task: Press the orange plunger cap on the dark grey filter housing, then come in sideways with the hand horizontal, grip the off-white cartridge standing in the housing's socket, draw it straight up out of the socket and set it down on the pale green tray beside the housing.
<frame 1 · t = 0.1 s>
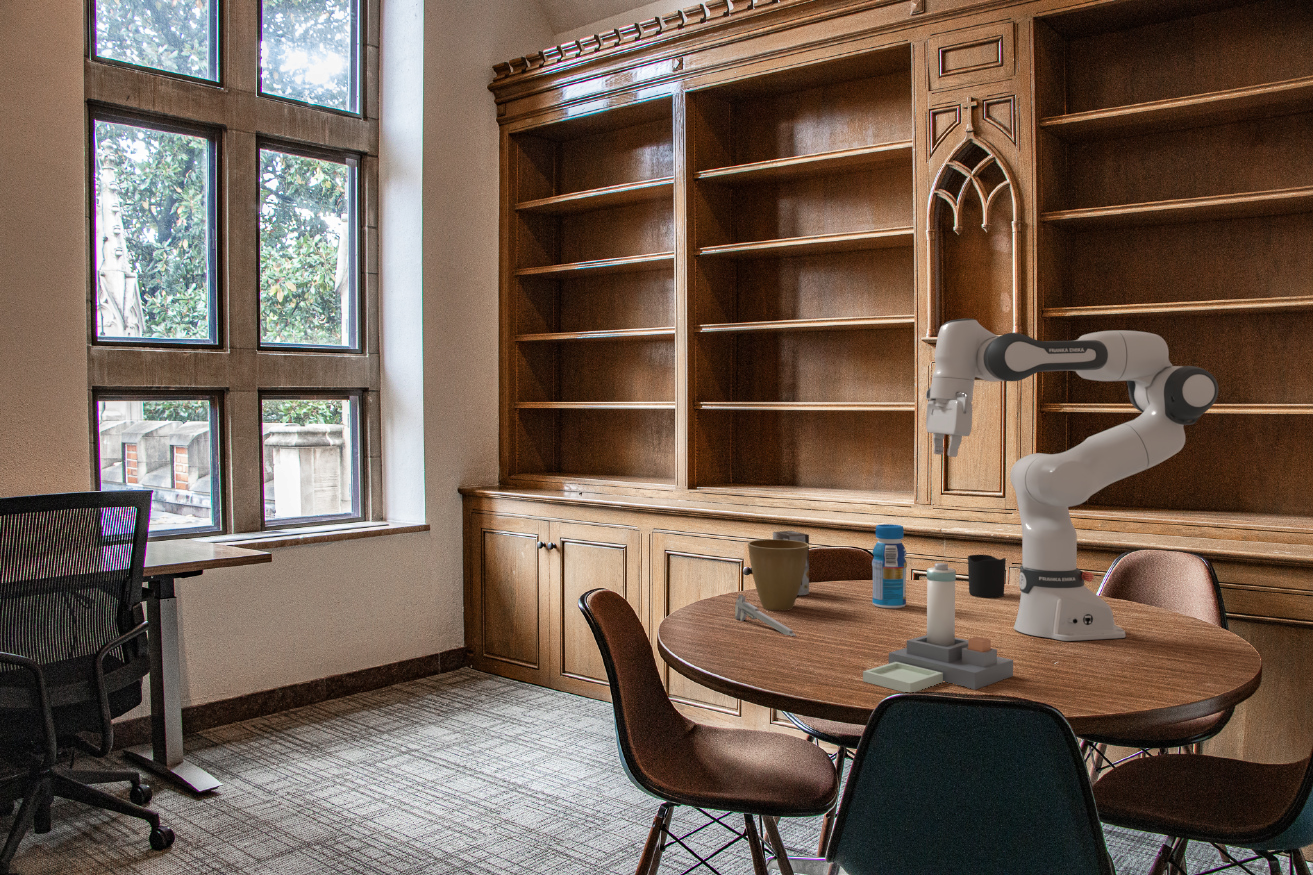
hand: (945, 455, 208), 39 cm above the table, tool pointing down, fingers open, 8 cm apart
pen holder: (986, 595, 251), on the table
plunger: (979, 647, 173), point 6 cm above the table, slide at 0.0 cm
cartridge: (940, 654, 179), point 3 cm above the table, touching housing
caliper: (764, 629, 214), on the table
housing: (949, 672, 178), on the table
tray: (902, 681, 171), on the table
plant pot: (778, 608, 235), on the table
coffee box: (790, 593, 254), on the table
beverage bottle: (889, 606, 238), on the table
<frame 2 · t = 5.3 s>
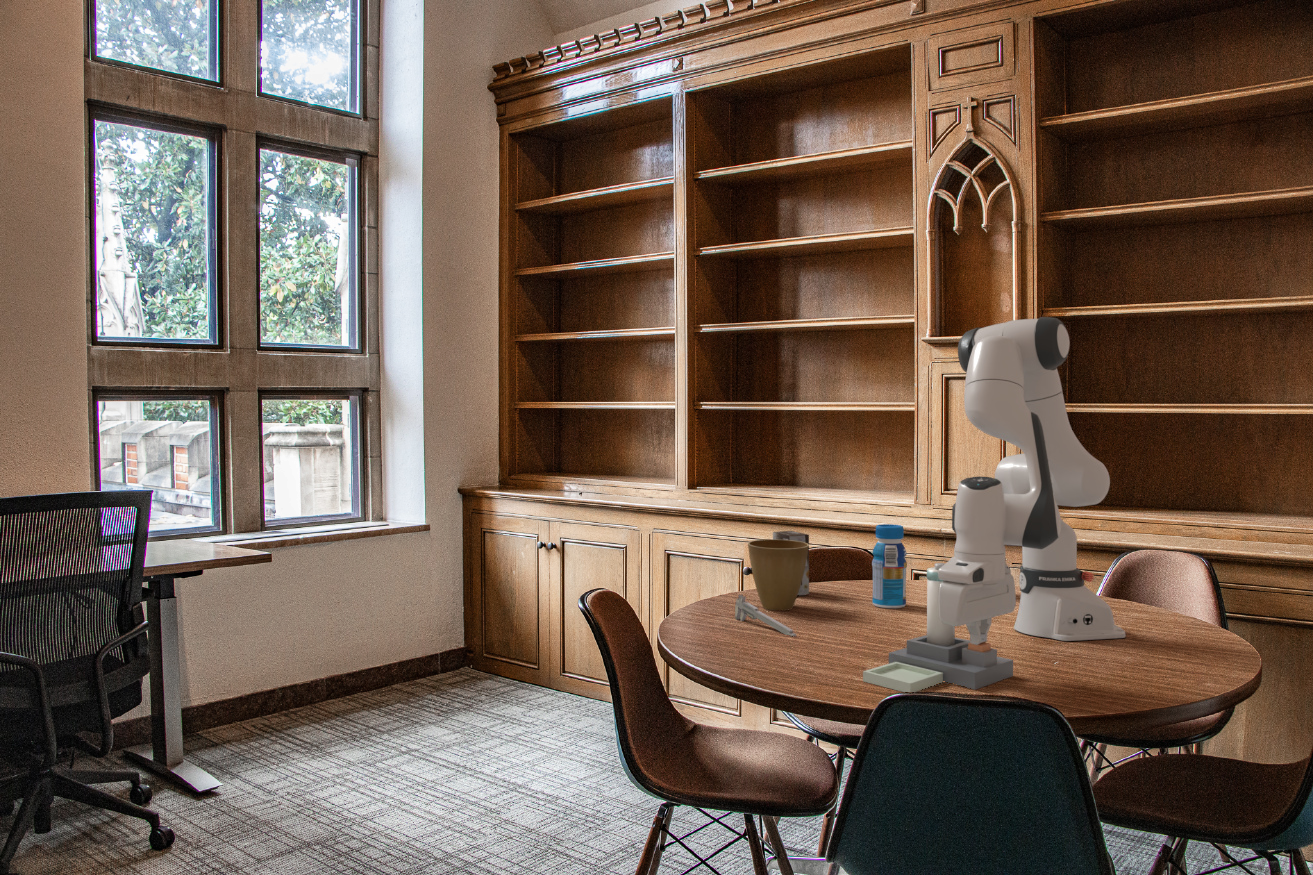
hand: (978, 643, 173), 7 cm above the table, tool pointing down, fingers closed, pressing on plunger
plunger: (979, 651, 173), point 5 cm above the table, slide at -0.8 cm, touching gripper
everything else where it was.
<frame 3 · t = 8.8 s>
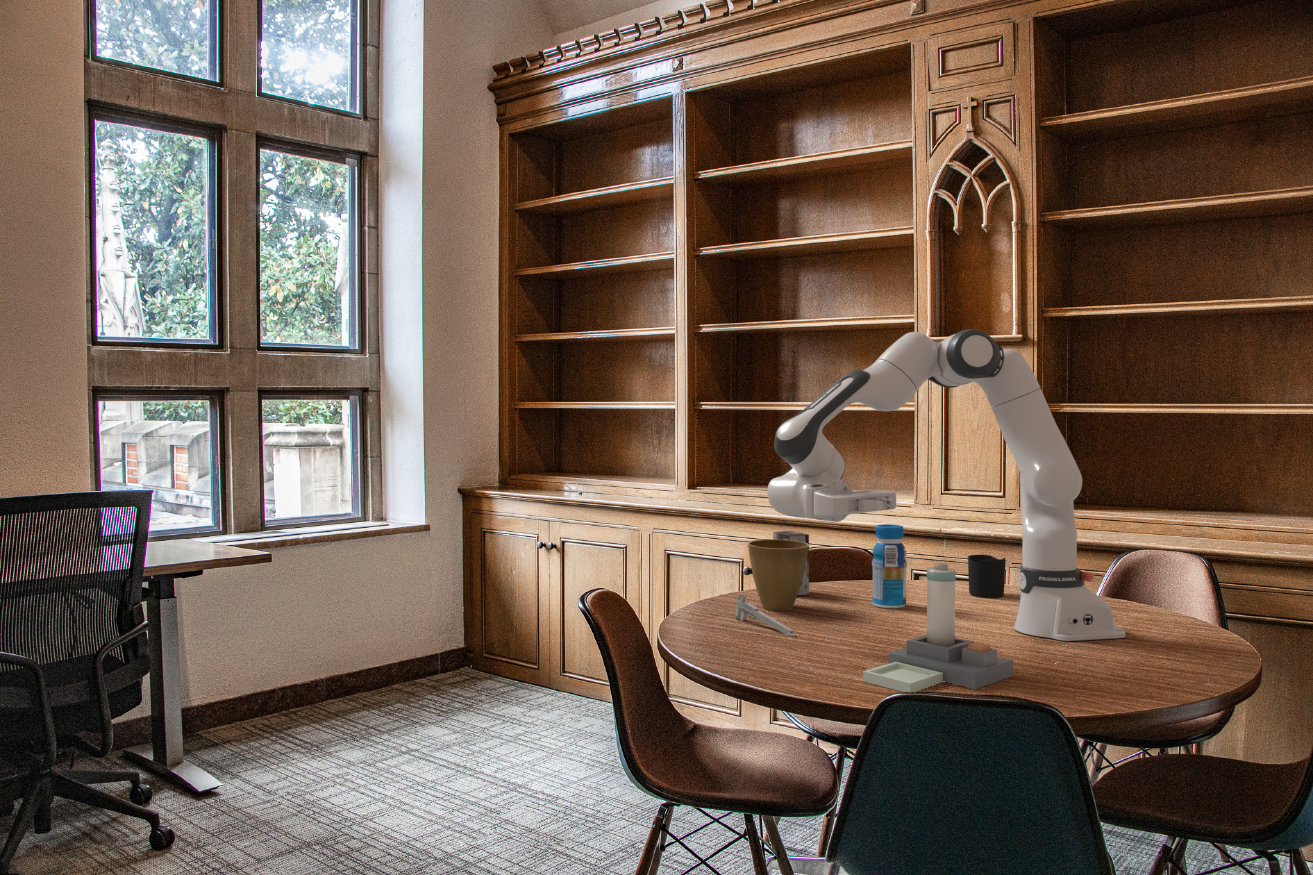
hand: (888, 505, 187), 30 cm above the table, tool horizontal, fingers closed
plunger: (979, 652, 173), point 5 cm above the table, slide at -1.0 cm
everything else where it was.
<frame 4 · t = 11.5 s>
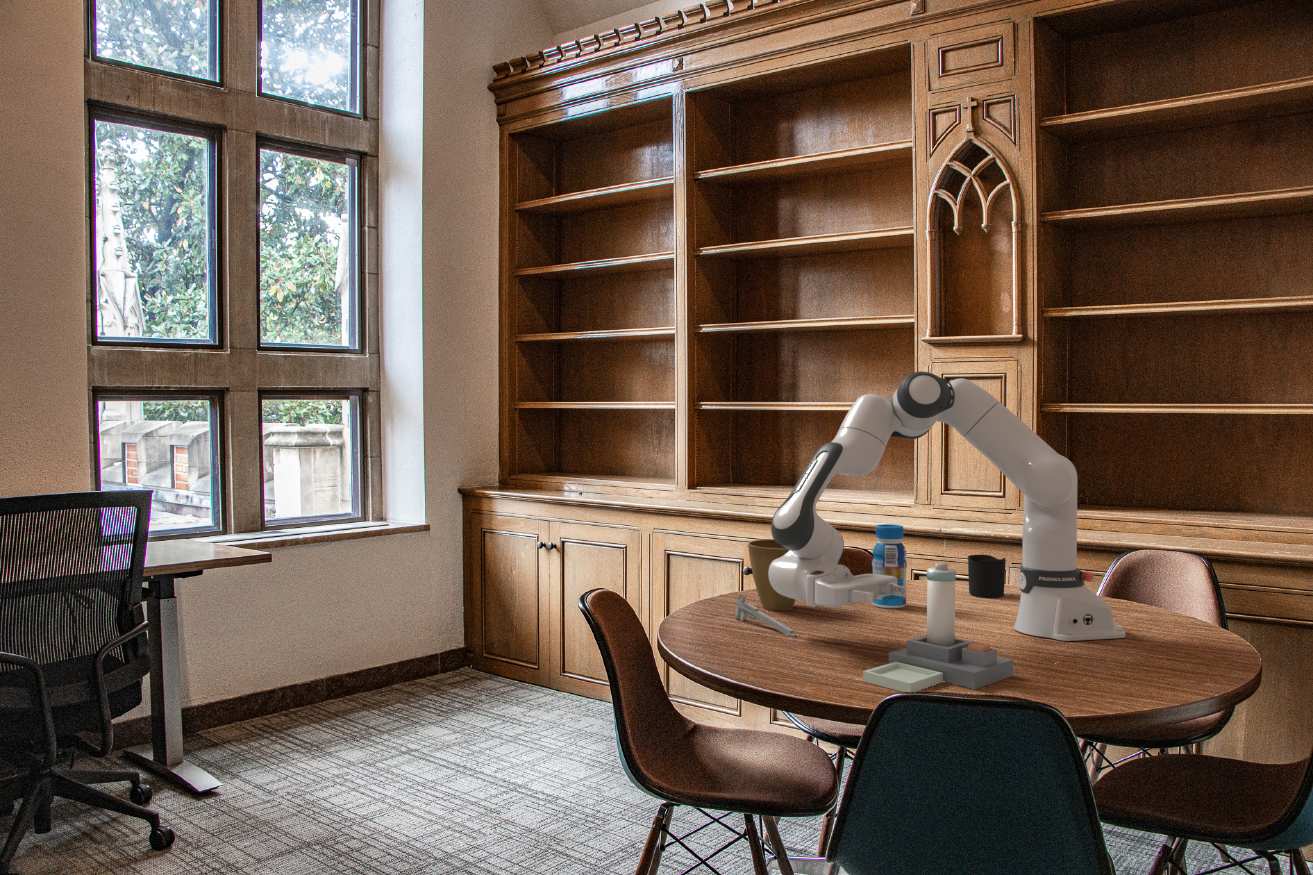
hand: (889, 594, 187), 13 cm above the table, tool horizontal, fingers open, 8 cm apart
nothing on the table moved.
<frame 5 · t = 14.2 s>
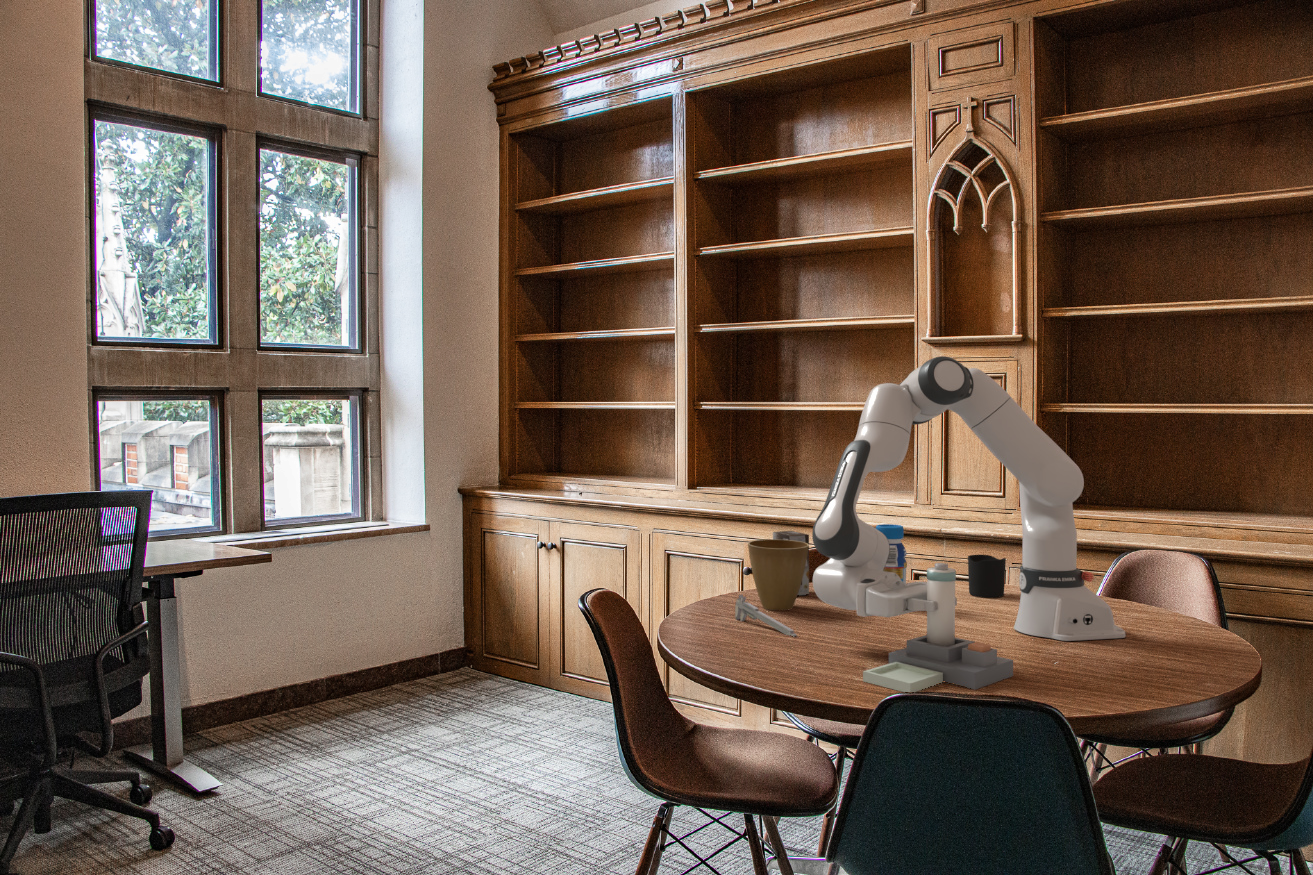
hand: (945, 604, 178), 13 cm above the table, tool horizontal, fingers closed on cartridge, 5 cm apart
cartridge: (940, 654, 179), point 3 cm above the table, touching gripper, housing
everything else where it was.
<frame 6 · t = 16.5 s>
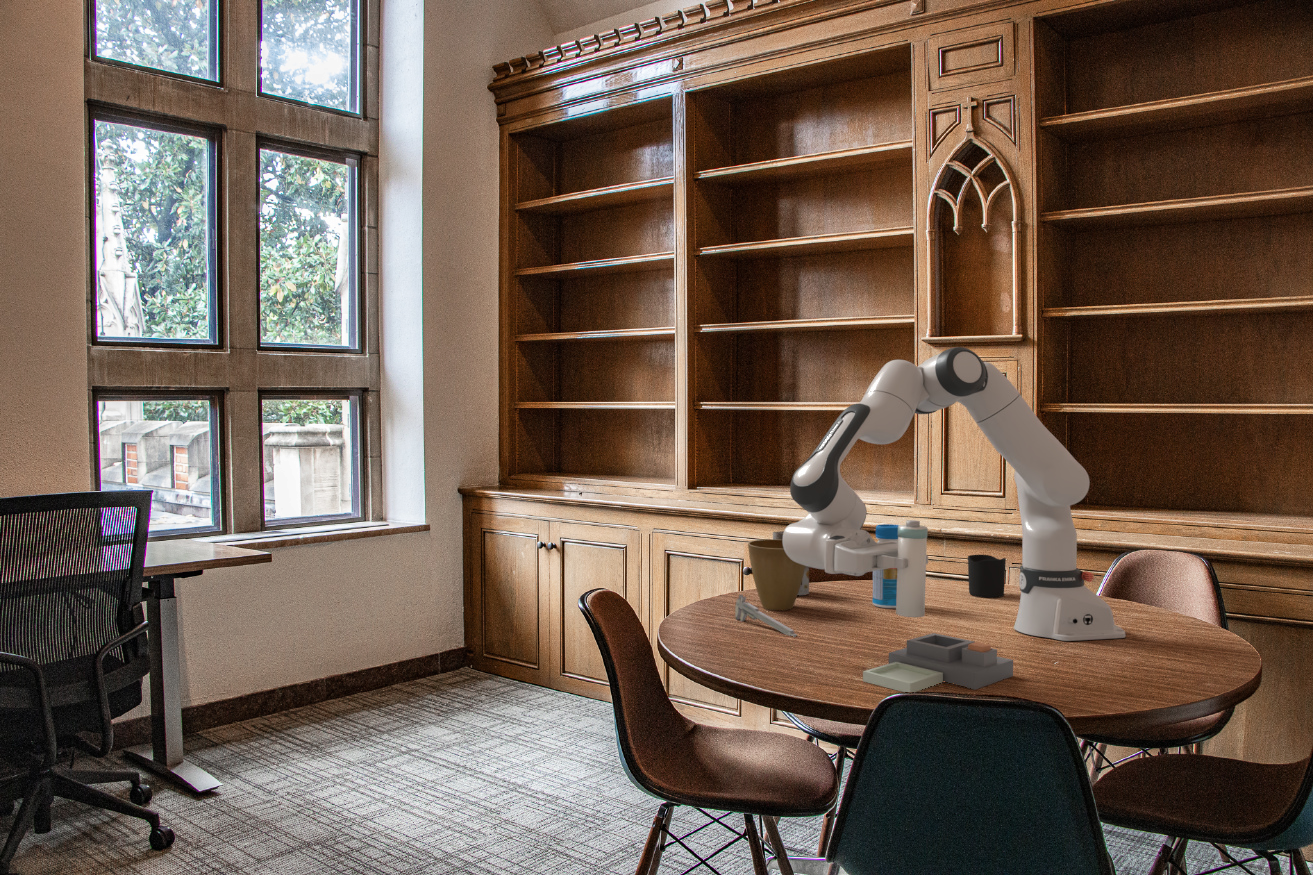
hand: (915, 562, 172), 21 cm above the table, tool horizontal, fingers closed on cartridge, 5 cm apart
cartridge: (910, 614, 173), point 12 cm above the table, touching gripper
everything else where it was.
when the fingers open (12 cm above the table, at t = 18.9 s): cartridge drops 1 cm, resting on tray.
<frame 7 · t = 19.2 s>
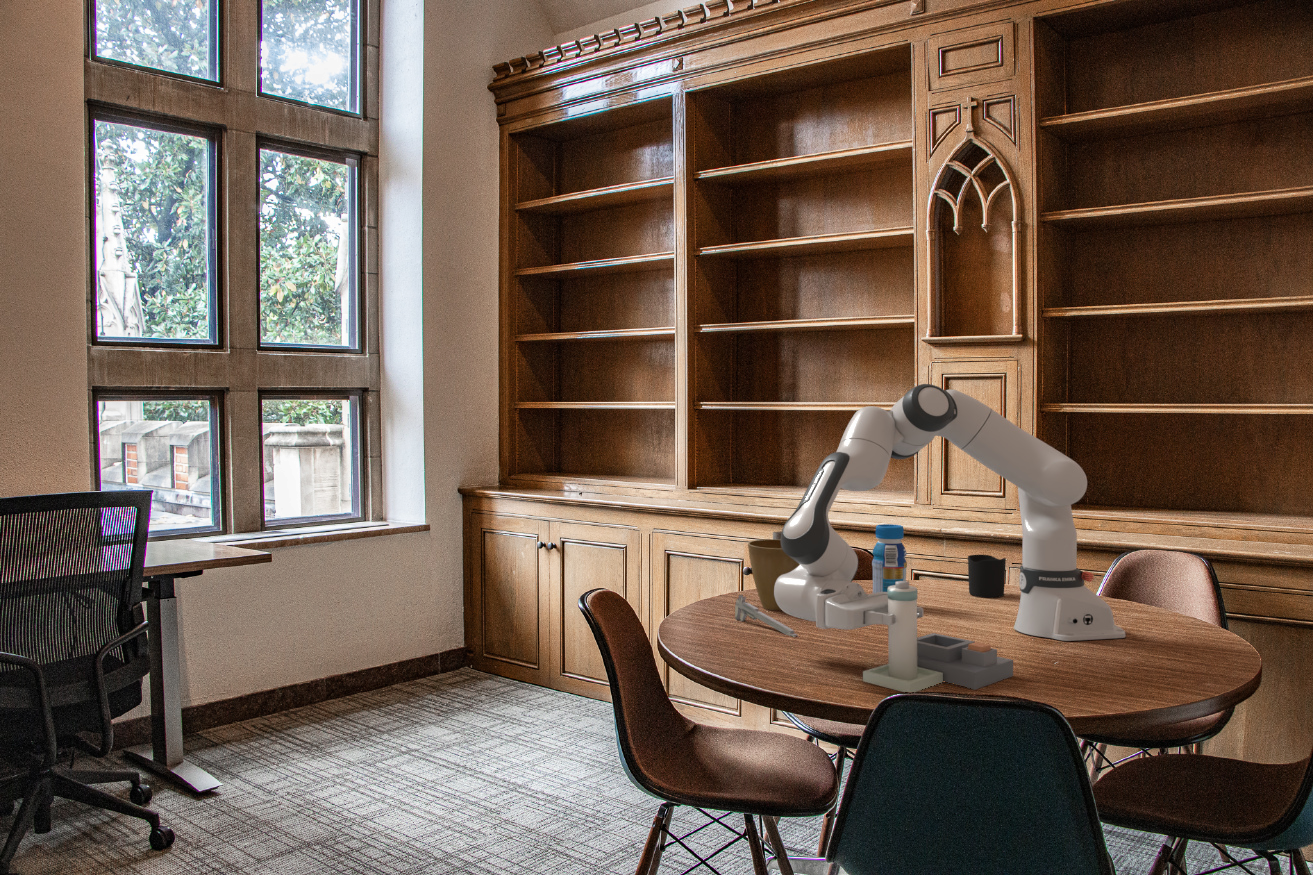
hand: (907, 616, 170), 12 cm above the table, tool horizontal, fingers open, 7 cm apart
cartridge: (902, 676, 171), point 1 cm above the table, touching tray
everything else where it was.
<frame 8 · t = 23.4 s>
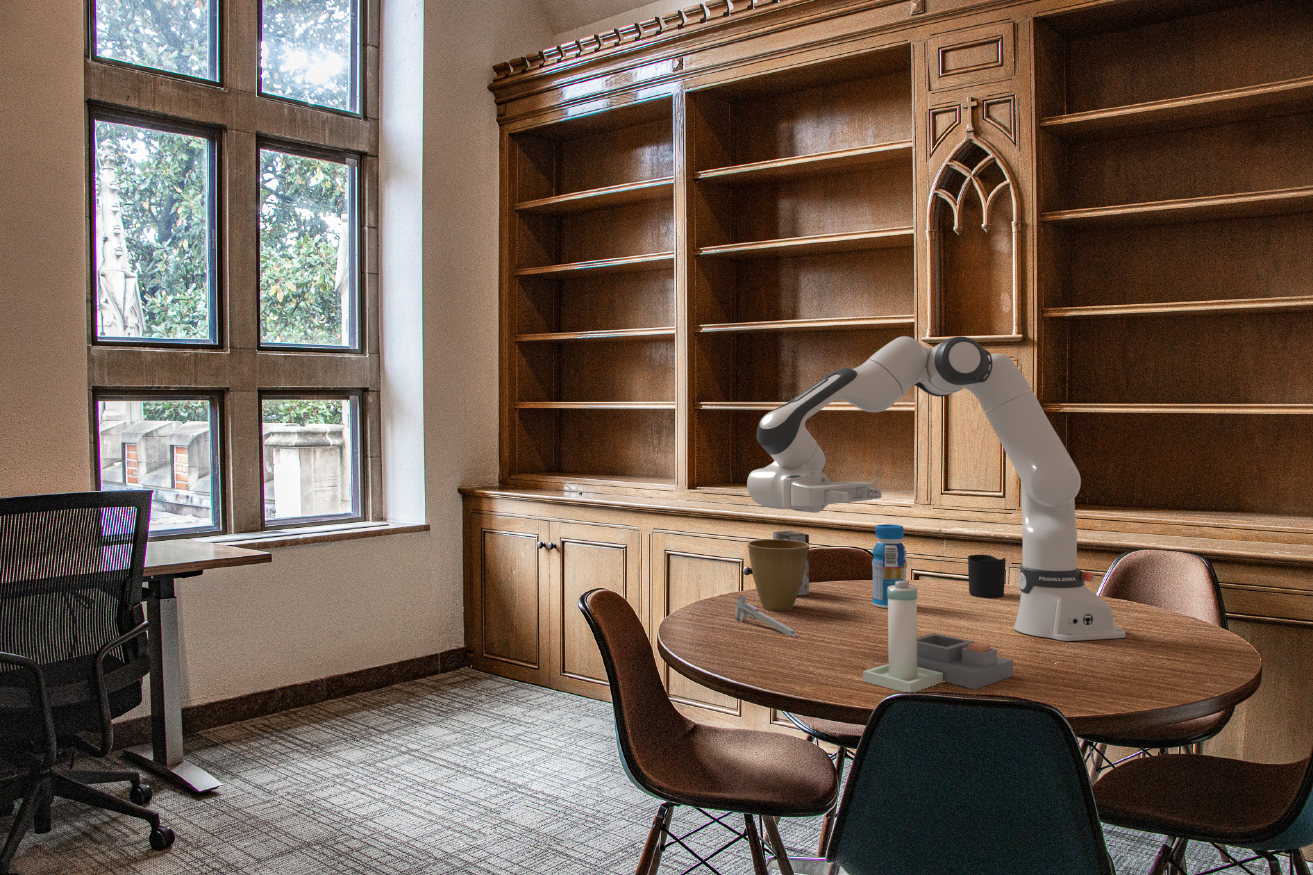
hand: (865, 495, 188), 32 cm above the table, tool horizontal, fingers open, 8 cm apart
nothing on the table moved.
at the end: cartridge inside the target area on the tray (0.1 cm from its centre), point 1.0 cm above the tray's base; cartridge tilted 1°; plunger slide at -1.0 cm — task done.
